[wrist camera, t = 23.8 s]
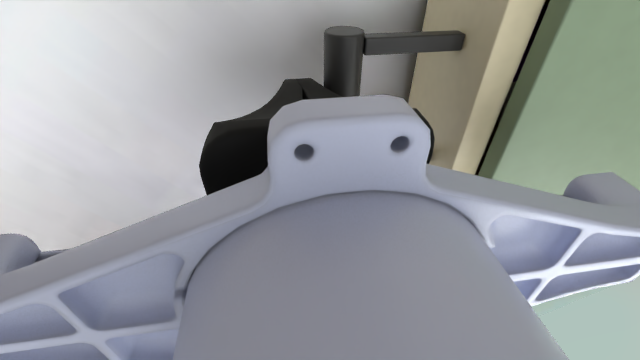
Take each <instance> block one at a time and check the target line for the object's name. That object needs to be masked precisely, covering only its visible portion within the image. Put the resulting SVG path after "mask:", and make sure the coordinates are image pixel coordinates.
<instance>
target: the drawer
mask: <svg viewBox="0 0 640 360" xmlns="http://www.w3.org/2000/svg"><path fill="white" fill-rule="evenodd" d="M549 2H550V0H428V3H427V8H426V13H425V18H424V23H423V29H422V32H401V33H377V34H365V33H364V30H362V29H360V28H357V27H351V26H336V27H331V28H328V29H326V30H325V32H324V87H325V88H327V89H329V90H330V91H332V92H334V93H336V94H338V95H340V96H342V97H355V96H359V95H360V83H361V71H362V59H363V54H364V55H382V54H403V53H418V55H417V60H416V65H415V70H414V75H413V81H412V86H411V91H410V96H409V101H408V104H409V105H410V107H411V108H417V110H418V111H419V112H420V113H421V114H422V115H423V116H424V118H425V119H426V120H427V121H428V122H429V124H430V126H431V127H432V129H433V132H434V137H435V141H434V149H433V152H432V156H431V160H430V163H429V164H431V165H435V166H439V167H443V168H447V169H452V170H456V171H460V172H464V173H468V174H473V175H477V176H478V174H479V172H480V169H481V167H482V164H483V162H484V159H485V157H486V155H487V152H488V150H489V147H490V145H491V142H492V140H493V138H494V135H495V133H496V130H497V128H498V126H499V123H498V121H497V119H498V116H499V114H500V111H501V109H502V106H503V104H504V101H505V99H506V96H507V94H508V91H509V89H510V86H511V84H512V81H513V79H514V77H515V74H516V72H517V69H518V67H519V64H520V62H521V59H522V57H523V54H524V52H525V49H526V47H527V44H528V42H529V39H530V37H531V34H532V32H533V30H534V27H535V25H536V22H537V20H538V17H539V15H540V12H541V10H542V7H543V5H544V4H545V5H549Z"/></svg>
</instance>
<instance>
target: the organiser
mask: <svg viewBox="0 0 640 360" xmlns="http://www.w3.org/2000/svg"><path fill="white" fill-rule="evenodd" d="M606 172H613V173H615V174H616V175H618V176H619V177H620V178H622V179H623V180H625V181H626V182H628V183H629V184H631V185H632V186H633V187H635V188H636V189H638V190H639V191H640V0H550V2H549V5H548V7H547V9H546V12H545V14H544V17H543V19H542V22H541V24H540V26H539V29H538V31H537V34H536V36H535V38H534V41H533V43H532V46H531V48H530V51H529V53H528V55H527V58H526V60H525V63H524V65H523V67H522V70H521V72H520V75H519V77H518V80H517V82H516V84H515V87H514V89H513V92H512V94H511V97H510V99H509V101H508V104H507V106H506V109H505V111H504V113H503V116H502V118H501V121H500V123H499V126H498V128H497V130H496V133H495V135H494V138H493V140H492V142H491V145H490V147H489V150H488V152H487V155H486V157H485V159H484V162H483V164H482V167H481V169H480V172H479V174H478V176H481V177H485V178H490V179H494V180H498V181H502V182H506V183H511V184H515V185H519V186H523V187H527V188H532V189H536V190H540V191H544V192H548V193H553V194H557V195H563V194H564V191H565V190H566V188H567V186H568V184H569V183H570V182H571V181H572V180H573V179H575V178H576V177H578V176H581V175H587V174H597V173H606Z"/></svg>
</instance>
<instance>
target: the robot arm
mask: <svg viewBox="0 0 640 360" xmlns="http://www.w3.org/2000/svg"><path fill="white" fill-rule="evenodd" d="M434 141H435V137H434V132H433V129H432V127H431V126H430V124H429V122H428V121H427V120H426V119H425V118H424V116H423V115H422V114H421V113H420V112H419V111H418V110H417V108H411V107H410V105H409V104H408V103H407V102H406V101H405V100H404V99H403V98H400V97H395V96H390V95H370V96H355V97H342V96H340V95H338V94H336V93H334V92H332V91H330V90H329V89H327V88H325V87H324V86H322V85H321V84H319V83H318V82H316V81H315V80H313V79H311V78H302V79H285V81H284V82H283V84H282V86H281V87H280V89H279V90H278V92H277V93H276V95H275V96H274V97H273V98H272V99H271V100H270V101H269V102H268V103H267V104H266V105H264V106H263V107H262V108H260V109H258V110H256V111H254V112H252V113H251V114H248V115H246V116H243V117H240V118H237V119H233V120H228V121H222V122H215V123H214V124H213V126H212V128H211V130H210V132H209V134H208V136H207V138H206V141H205V143H204V147H203V151H202V155H201V159H200V164H199V168H200V175H201V178H202V182H203V185H204V188H205V191H206V194H207V196H204V197H202V198H199V199H197V200H194V201H191V202H189V203H186V204H184V205H181V206H179V207H176V208H174V209H171V210H169V211H166V212H164V213H161V214H158V215H156V216H153V217H151V218H148V219H146V220H143V221H141V222H138V223H136V224H133V225H131V226H128V227H125V228H123V229H120V230H118V231H115V232H113V233H110V234H108V235H105V236H102V237H100V238H97V239H95V240H92V241H90V242H87V243H85V244H82V245H80V246H77V247H74V248H72V249H65V250H56V251H47V252H41V251H40V249H39V248H38V246H37V245H36V244H35V243H34V242H33V241H32V240H31V239H30V238H28V237H27V236H24V235H21V234H1V235H0V360H569V359H568V357H567V356H566V355H565V353H564V352H563V350H562V349H561V348H560V346H559V345H558V344H557V342H556V341H555V339H554V338H553V336H552V335H551V334H550V332H549V331H548V329H547V328H546V327H545V325H544V324H543V322H542V321H541V320H540V318H539V317H538V315H537V314H536V313H535V311H534V310H533V308H532V307H531V306H533V305H537V304H540V303H543V302H547V301H550V300H553V299H557V298H560V297H564V296H567V295H571V294H575V293H578V292H582V291H587V290H591V289H595V288H600V287H604V286H610V285H615V284H621V283H627V282H631V281H633V280H634V279H635V278H637V277H638V276H639V275H640V191H639V190H638V189H636V188H635V187H633V186H632V185H631V184H629V183H628V182H626V181H625V180H623V179H622V178H620V177H619V176H618V175H616V174H615V173H613V172H606V173H597V174H587V175H581V176H578V177H576V178H575V179H573V180H572V181H571V182H570V183H569V184H568V186H567V188H566V190H565V191H564V194H563V195H557V194H553V193H548V192H544V191H540V190H536V189H532V188H527V187H523V186H519V185H515V184H511V183H506V182H502V181H498V180H494V179H490V178H485V177H481V176H477V175H473V174H468V173H464V172H460V171H456V170H452V169H447V168H443V167H439V166H435V165H431V164H429V163H430V160H431V156H432V152H433V149H434Z"/></svg>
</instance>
